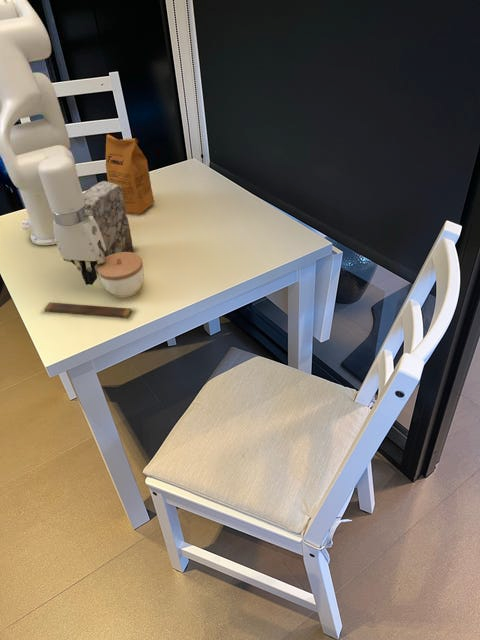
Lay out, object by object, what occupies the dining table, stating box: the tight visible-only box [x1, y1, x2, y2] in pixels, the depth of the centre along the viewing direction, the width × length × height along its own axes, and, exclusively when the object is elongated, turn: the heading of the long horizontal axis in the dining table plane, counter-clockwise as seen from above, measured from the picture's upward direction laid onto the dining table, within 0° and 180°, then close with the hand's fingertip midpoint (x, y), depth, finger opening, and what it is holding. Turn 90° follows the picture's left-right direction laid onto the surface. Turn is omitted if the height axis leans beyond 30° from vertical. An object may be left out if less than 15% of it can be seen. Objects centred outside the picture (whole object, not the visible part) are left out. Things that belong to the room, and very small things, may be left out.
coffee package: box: [105, 133, 155, 215], centre depth 155 cm, size 10×12×22 cm
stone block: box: [83, 180, 134, 272], centre depth 132 cm, size 13×7×20 cm, turn 161°
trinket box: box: [96, 251, 145, 299], centre depth 124 cm, size 11×11×9 cm
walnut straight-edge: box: [44, 302, 133, 319], centre depth 121 cm, size 21×2×1 cm, turn 78°
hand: (91, 281), depth 127 cm, fingers closed
